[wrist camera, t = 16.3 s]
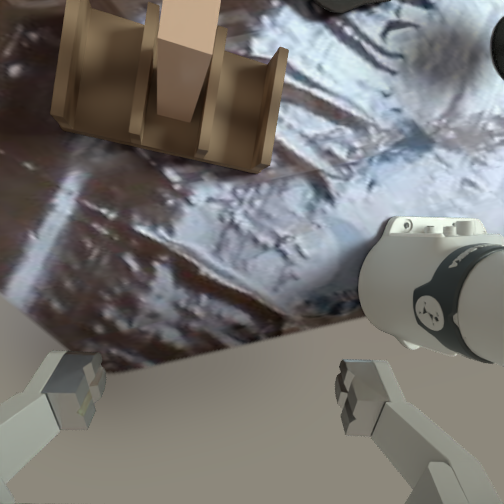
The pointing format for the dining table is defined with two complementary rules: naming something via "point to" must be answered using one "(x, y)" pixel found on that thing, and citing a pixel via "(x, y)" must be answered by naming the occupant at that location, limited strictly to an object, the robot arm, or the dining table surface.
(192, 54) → the beige rectangular block
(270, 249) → the dining table surface
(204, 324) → the dining table surface
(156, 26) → the drying rack
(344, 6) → the casserole
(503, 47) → the wine glass
